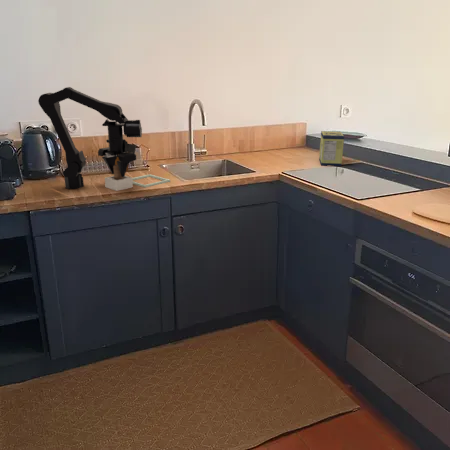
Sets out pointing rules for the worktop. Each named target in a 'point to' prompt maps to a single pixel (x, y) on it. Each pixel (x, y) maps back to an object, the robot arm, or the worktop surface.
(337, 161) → the protein box
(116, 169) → the walnut pin
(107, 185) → the box
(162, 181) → the pale green square frame
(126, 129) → the robot arm
